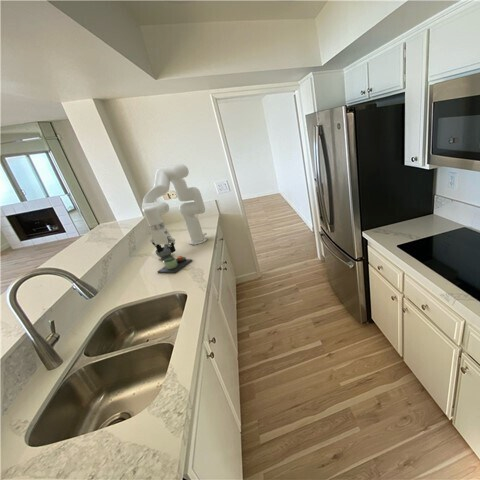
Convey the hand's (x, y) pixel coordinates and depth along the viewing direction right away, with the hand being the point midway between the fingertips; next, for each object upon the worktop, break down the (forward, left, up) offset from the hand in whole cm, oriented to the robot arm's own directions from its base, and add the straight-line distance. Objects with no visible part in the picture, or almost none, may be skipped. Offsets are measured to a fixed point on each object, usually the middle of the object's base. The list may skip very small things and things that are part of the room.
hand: (167, 251), depth 164 cm
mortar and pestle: (-15, -18, -12) cm, 26 cm away
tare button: (-7, 0, -9) cm, 12 cm away
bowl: (+1, 0, -11) cm, 11 cm away
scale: (-2, 0, -12) cm, 12 cm away
